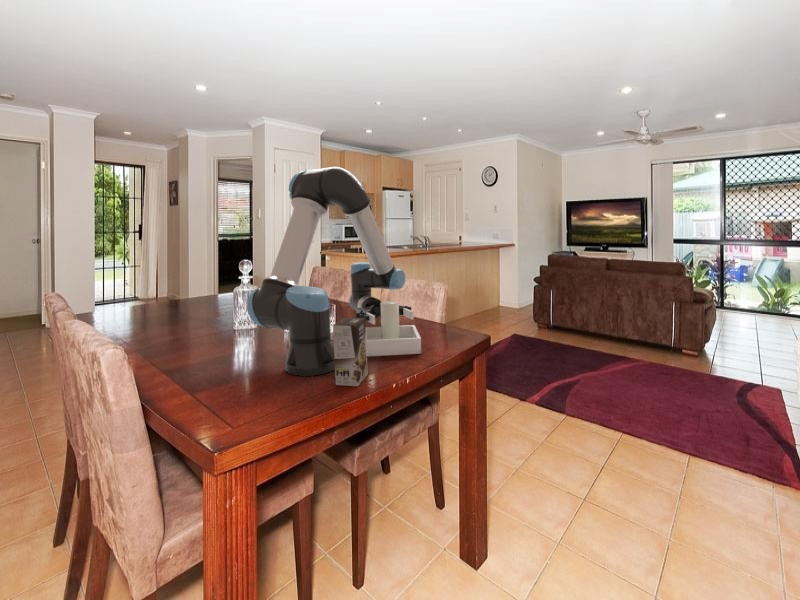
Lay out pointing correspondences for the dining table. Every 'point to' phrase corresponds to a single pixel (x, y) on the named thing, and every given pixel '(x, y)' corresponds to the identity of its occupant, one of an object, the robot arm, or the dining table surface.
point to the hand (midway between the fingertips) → (393, 317)
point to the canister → (390, 320)
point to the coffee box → (350, 351)
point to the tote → (393, 342)
